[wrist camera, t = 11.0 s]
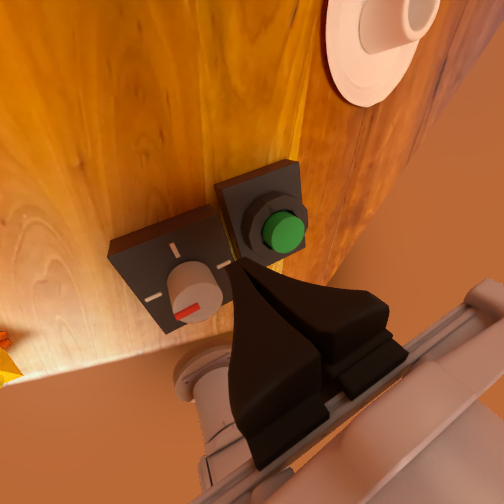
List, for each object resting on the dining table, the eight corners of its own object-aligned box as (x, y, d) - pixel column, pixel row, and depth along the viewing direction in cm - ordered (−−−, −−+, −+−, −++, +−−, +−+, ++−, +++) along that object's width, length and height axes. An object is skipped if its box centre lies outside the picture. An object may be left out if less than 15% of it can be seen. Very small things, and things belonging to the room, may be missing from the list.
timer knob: (202, 253, 19) (215, 276, 16) (216, 285, 21) (230, 310, 18) (158, 273, 18) (163, 302, 15) (178, 304, 20) (185, 334, 17)
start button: (295, 237, 22) (306, 244, 21) (265, 251, 21) (274, 259, 20) (291, 205, 20) (303, 210, 19) (258, 219, 19) (268, 226, 18)
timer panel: (235, 279, 26) (245, 294, 24) (162, 314, 24) (166, 336, 21) (208, 203, 20) (219, 213, 18) (110, 240, 18) (106, 258, 16)
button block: (295, 240, 27) (315, 254, 24) (239, 266, 25) (254, 285, 22) (286, 158, 22) (311, 163, 19) (213, 184, 20) (228, 195, 17)
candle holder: (373, 126, 25) (411, 126, 21) (298, 65, 18) (335, 50, 15) (437, -6, 21) (496, -33, 17) (370, -144, 14) (443, -228, 11)
